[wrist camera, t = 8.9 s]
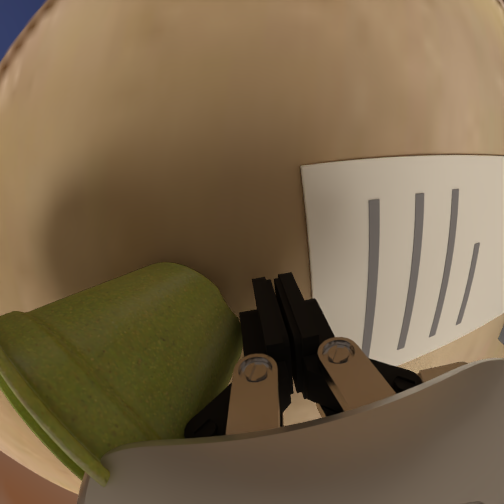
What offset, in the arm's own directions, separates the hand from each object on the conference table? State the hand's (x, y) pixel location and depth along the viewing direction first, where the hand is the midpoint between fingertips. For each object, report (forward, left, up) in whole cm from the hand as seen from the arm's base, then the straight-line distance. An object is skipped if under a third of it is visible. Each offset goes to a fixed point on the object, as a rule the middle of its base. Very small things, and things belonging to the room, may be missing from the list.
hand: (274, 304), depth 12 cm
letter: (-2, -13, -2) cm, 13 cm away
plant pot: (-1, +4, -1) cm, 4 cm away
